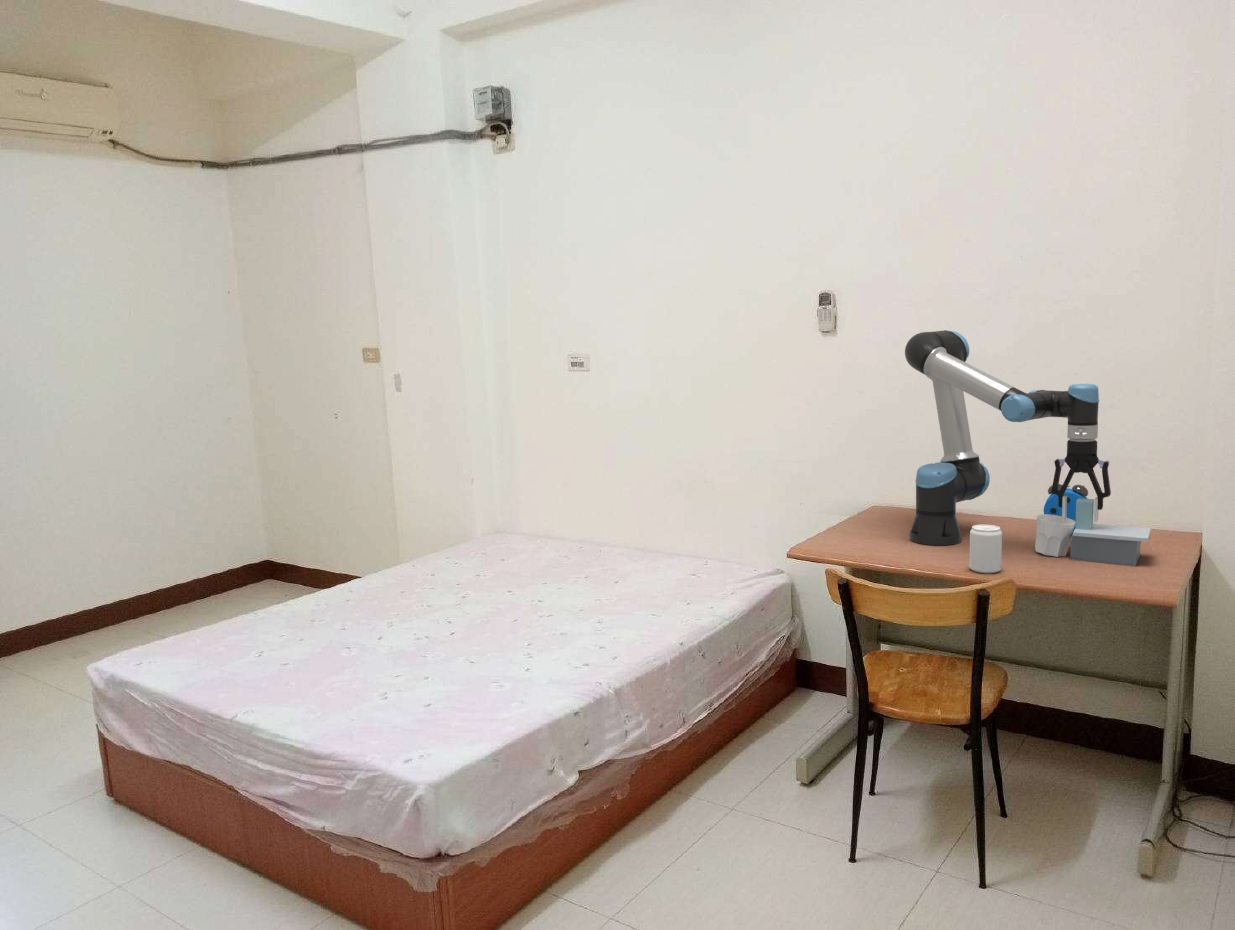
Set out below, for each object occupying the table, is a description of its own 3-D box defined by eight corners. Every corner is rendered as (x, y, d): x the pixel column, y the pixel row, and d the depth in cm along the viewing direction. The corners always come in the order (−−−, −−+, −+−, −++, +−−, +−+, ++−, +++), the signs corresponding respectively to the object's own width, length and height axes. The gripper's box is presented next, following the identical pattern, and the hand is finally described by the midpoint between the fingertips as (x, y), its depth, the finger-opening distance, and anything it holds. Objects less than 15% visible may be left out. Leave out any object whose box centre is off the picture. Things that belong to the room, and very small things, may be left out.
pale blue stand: (1073, 535, 252) (1074, 504, 250) (1078, 525, 262) (1080, 495, 261) (1147, 542, 242) (1149, 509, 240) (1150, 531, 252) (1152, 500, 251)
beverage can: (963, 567, 250) (964, 525, 248) (992, 565, 251) (993, 523, 249) (977, 575, 242) (978, 531, 240) (1006, 573, 243) (1008, 529, 241)
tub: (1070, 559, 253) (1071, 535, 252) (1076, 549, 263) (1077, 526, 262) (1135, 566, 244) (1137, 541, 243) (1140, 555, 254) (1141, 531, 253)
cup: (1023, 547, 262) (1029, 515, 260) (1048, 545, 266) (1054, 513, 264) (1051, 559, 253) (1057, 525, 251) (1077, 556, 257) (1083, 523, 255)
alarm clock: (1090, 530, 284) (1092, 483, 282) (1089, 534, 279) (1091, 487, 277) (1044, 527, 291) (1045, 481, 288) (1042, 531, 286) (1044, 484, 283)
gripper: (1040, 440, 255) (1038, 519, 259) (1122, 442, 244) (1119, 525, 247) (1045, 436, 261) (1043, 514, 265) (1125, 438, 250) (1122, 519, 253)
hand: (1079, 519), depth 256 cm, fingers open, 7 cm apart
